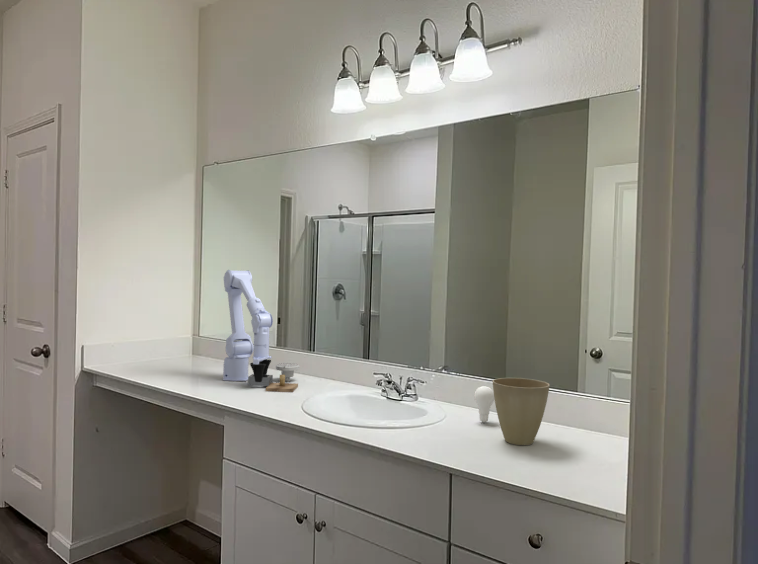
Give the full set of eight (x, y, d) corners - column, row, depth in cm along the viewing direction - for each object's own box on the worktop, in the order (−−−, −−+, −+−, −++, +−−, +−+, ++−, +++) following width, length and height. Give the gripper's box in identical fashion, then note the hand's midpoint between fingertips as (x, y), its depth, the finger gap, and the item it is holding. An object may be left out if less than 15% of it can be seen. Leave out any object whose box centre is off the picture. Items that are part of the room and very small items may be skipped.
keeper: (265, 391, 205) (265, 377, 205) (272, 385, 215) (272, 372, 214) (292, 392, 204) (292, 378, 204) (297, 386, 214) (298, 373, 214)
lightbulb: (482, 426, 165) (483, 388, 164) (469, 421, 170) (470, 385, 170) (498, 424, 167) (499, 387, 167) (485, 419, 173) (486, 383, 173)
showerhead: (272, 364, 220) (279, 360, 230) (272, 383, 220) (279, 378, 230) (296, 365, 219) (302, 361, 229) (295, 384, 219) (301, 379, 229)
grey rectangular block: (247, 385, 210) (248, 376, 210) (252, 382, 216) (252, 374, 216) (268, 386, 210) (269, 377, 210) (272, 383, 215) (272, 374, 215)
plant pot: (559, 448, 145) (561, 386, 145) (508, 451, 141) (510, 388, 141) (528, 432, 160) (530, 376, 159) (481, 435, 155) (482, 377, 155)
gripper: (266, 347, 205) (266, 384, 205) (276, 342, 220) (275, 377, 220) (248, 346, 205) (247, 383, 206) (258, 341, 220) (257, 376, 220)
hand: (260, 380), depth 213 cm, fingers closed on grey rectangular block, 5 cm apart
